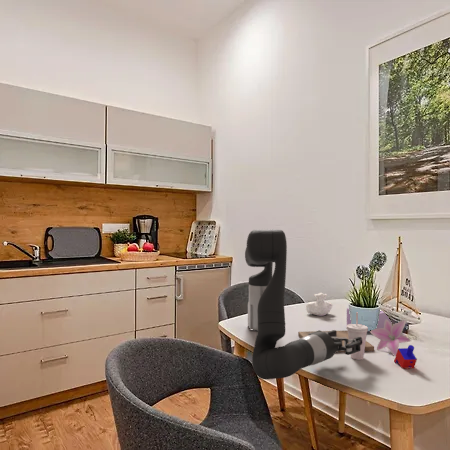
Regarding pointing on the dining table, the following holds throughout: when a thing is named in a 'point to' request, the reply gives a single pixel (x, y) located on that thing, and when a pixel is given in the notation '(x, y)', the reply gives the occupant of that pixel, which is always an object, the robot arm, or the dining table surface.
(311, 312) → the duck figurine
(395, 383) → the dining table surface
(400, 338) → the lily
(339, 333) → the walnut board
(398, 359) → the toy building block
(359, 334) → the smoothie
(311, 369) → the dining table surface
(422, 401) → the dining table surface
